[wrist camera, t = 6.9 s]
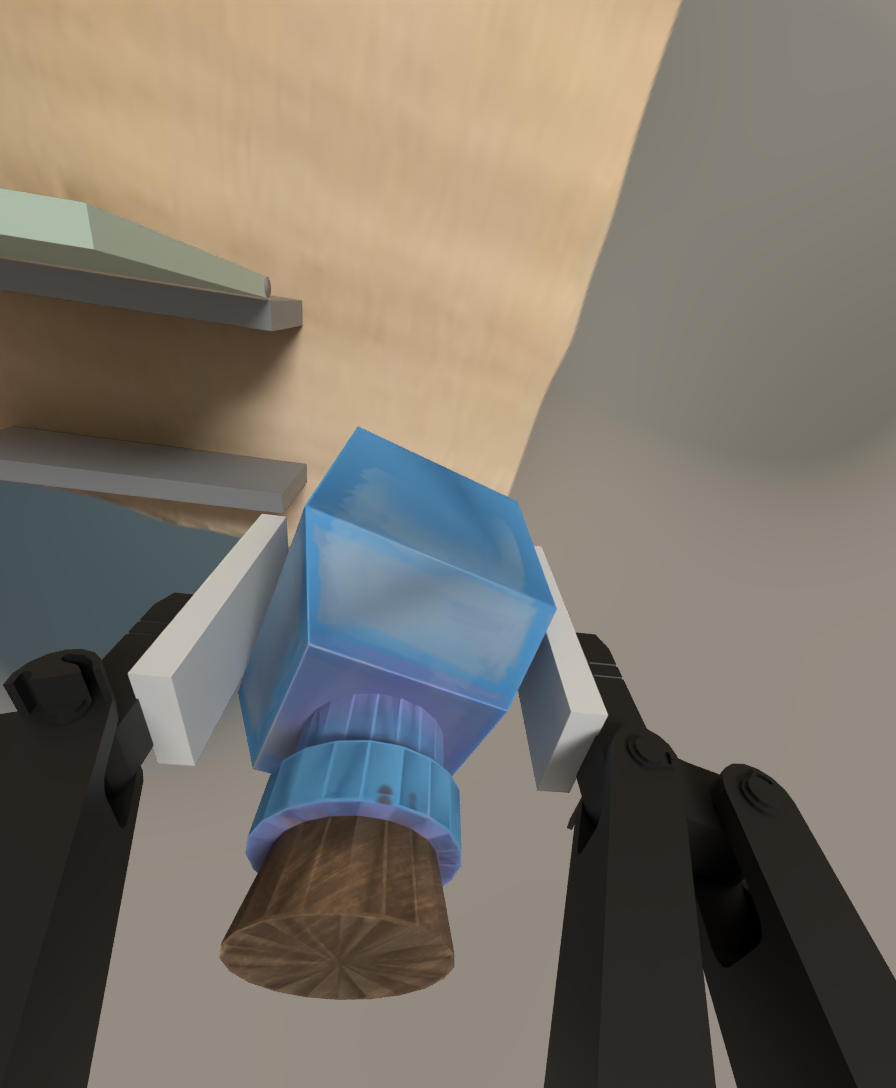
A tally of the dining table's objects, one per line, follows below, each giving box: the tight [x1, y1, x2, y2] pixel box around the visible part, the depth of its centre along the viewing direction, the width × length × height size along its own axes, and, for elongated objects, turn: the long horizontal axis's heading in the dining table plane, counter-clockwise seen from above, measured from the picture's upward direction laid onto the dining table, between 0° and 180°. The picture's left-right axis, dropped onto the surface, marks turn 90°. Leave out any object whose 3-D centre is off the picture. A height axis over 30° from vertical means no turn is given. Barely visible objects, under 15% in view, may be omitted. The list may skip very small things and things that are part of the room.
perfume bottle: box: [220, 427, 557, 1000], centre depth 11 cm, size 6×6×12 cm
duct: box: [0, 256, 307, 514], centre depth 28 cm, size 13×22×6 cm, turn 82°
